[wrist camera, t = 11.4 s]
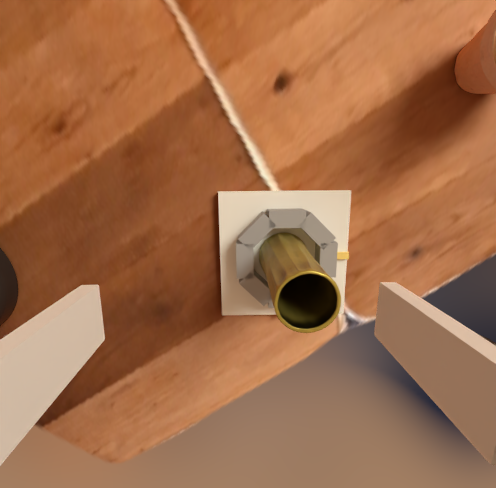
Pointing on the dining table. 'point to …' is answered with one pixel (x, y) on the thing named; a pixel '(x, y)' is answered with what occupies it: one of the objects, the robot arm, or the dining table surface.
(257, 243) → the socket
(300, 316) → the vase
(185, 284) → the dining table surface
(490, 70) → the potted plant
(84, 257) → the dining table surface
